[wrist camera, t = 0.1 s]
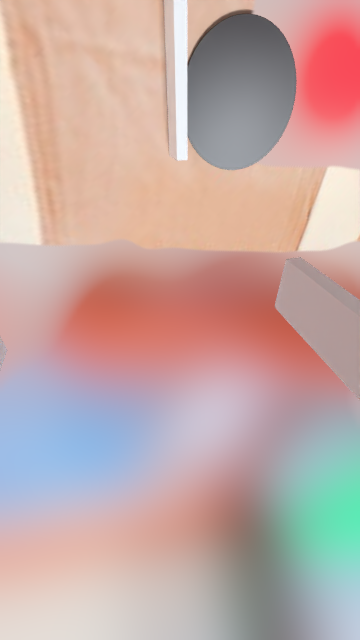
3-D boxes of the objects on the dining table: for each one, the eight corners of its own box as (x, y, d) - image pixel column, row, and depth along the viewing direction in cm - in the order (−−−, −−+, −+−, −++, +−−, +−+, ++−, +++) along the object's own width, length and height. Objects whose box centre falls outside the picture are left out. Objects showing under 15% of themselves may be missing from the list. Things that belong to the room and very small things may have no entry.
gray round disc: (180, 11, 27) (181, 10, 27) (308, 16, 30) (310, 16, 29) (182, 172, 36) (182, 173, 35) (281, 166, 38) (282, 166, 38)
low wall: (156, -189, 21) (168, -240, 17) (172, -186, 21) (186, -237, 18) (169, 155, 34) (177, 160, 31) (178, 155, 34) (187, 159, 31)
